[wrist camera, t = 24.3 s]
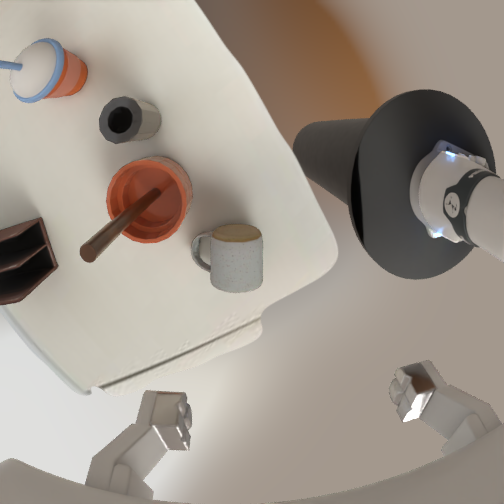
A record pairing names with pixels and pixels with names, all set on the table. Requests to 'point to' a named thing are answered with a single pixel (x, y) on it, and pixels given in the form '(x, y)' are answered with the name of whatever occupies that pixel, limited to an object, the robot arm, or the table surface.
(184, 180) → the bowl
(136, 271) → the table surface
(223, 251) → the ceramic mug
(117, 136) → the tube
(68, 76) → the cup with straw
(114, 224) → the stick
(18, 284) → the letter holder
